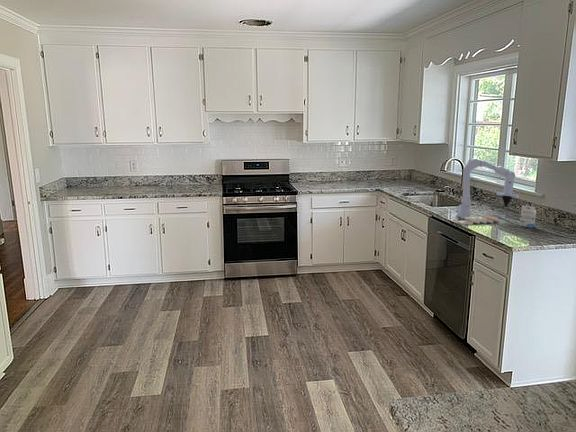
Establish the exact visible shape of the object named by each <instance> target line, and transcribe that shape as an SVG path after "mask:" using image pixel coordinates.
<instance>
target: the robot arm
mask: <svg viewBox="0 0 576 432" xmlns="http://www.w3.org/2000/svg"><path fill="white" fill-rule="evenodd" d="M479 167H480V168H481V167H485V168H487V169H490V170H492V171H494V173H495V174H496V175H499V176H500V177H503V178H505V179H504V185H503V192H498V191H497V192H496V196H501V198H502V201H503V206H504V207H507V208H508V206H509V203H510V202H511V199H513V198H515V199H519V196H520V195H519V194H513V189H514V183H515V178H516V173H515V172H514V171H513V170H510V169H509V168H505V167H504V166H502V165H498V166H496V165H494V164H492V163H489V162H488V161H486V160H483V159H481V158H480V159H479V158H477V157H472V158H470V159H469V160H468V161H467V163H466V164H465V166H464V167H463V171H462V173H463V174H462V175H463V176H462V196H461V199H460V200H461V201H460V202H461V204H459V205H458V206H457V211H456V215H455V217H458V218H460V219H463V220H464V219H465V216H466V217H469V218H472V216H471V209H472V202H473V201H472V199H471V172H472V171H473V170H474V169H477V168H479Z"/></svg>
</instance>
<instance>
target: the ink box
mask: <svg viewBox="0 0 576 432" xmlns="http://www.w3.org/2000/svg"><path fill="white" fill-rule="evenodd" d="M536 216H537V209H536V207H535V206H530V205H521V209H520V216H519V223H518V225H519V227H524V228H526V227H527V228H531V229H532V228H534V227H535V222H536Z"/></svg>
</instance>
